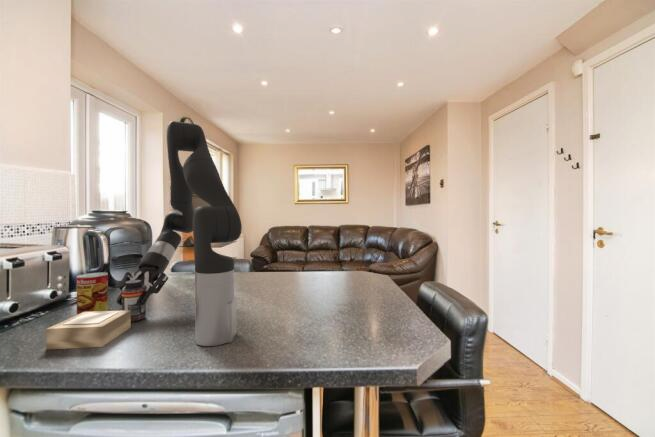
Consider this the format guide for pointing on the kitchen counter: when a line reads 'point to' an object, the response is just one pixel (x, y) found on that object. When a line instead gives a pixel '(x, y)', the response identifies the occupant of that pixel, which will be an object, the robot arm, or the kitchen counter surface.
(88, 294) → the canned food
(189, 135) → the robot arm
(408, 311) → the kitchen counter surface
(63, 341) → the oak plinth
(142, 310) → the supplement bottle
